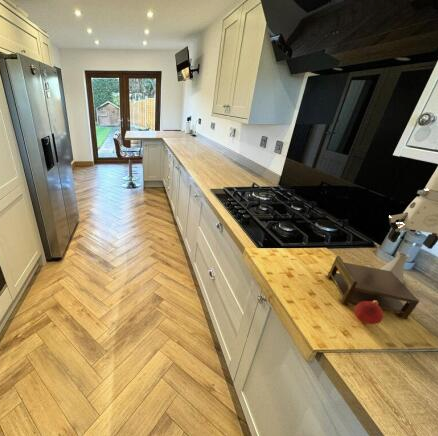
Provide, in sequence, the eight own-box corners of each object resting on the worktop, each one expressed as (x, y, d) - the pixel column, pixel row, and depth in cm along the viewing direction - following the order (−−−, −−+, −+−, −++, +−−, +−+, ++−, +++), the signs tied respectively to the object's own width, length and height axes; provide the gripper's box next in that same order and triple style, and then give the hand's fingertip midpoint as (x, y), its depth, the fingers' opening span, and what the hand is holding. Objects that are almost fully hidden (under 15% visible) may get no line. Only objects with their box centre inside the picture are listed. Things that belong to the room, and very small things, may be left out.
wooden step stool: (381, 287, 80) (394, 266, 76) (406, 319, 68) (423, 295, 64) (327, 276, 85) (336, 255, 81) (342, 304, 73) (354, 281, 69)
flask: (397, 274, 87) (411, 252, 83) (407, 286, 81) (423, 263, 77) (373, 268, 90) (385, 246, 85) (380, 280, 84) (394, 257, 79)
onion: (371, 334, 63) (386, 313, 60) (346, 319, 67) (358, 298, 64) (379, 324, 66) (393, 303, 63) (354, 311, 70) (366, 290, 67)
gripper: (411, 195, 71) (383, 243, 79) (488, 205, 66) (450, 255, 74) (397, 188, 77) (372, 233, 85) (465, 196, 73) (433, 243, 80)
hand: (408, 243), depth 79 cm, fingers open, 9 cm apart
